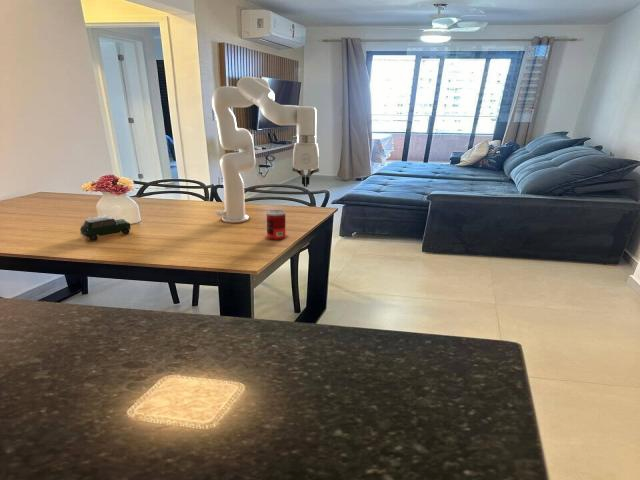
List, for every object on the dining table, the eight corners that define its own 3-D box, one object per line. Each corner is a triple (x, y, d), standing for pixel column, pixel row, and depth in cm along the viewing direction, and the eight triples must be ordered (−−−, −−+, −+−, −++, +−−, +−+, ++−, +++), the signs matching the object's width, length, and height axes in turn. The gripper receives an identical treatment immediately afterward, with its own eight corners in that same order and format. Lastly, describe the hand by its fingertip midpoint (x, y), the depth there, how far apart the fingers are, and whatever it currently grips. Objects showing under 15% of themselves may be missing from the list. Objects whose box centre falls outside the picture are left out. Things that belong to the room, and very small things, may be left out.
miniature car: (133, 233, 161) (131, 215, 158) (85, 242, 149) (82, 222, 146) (126, 228, 167) (123, 210, 164) (79, 237, 155) (75, 218, 152)
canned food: (288, 235, 163) (288, 210, 160) (280, 241, 156) (280, 215, 153) (272, 233, 166) (271, 208, 162) (263, 238, 159) (263, 213, 155)
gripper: (286, 140, 144) (286, 187, 150) (325, 140, 145) (324, 188, 151) (287, 138, 152) (287, 184, 157) (324, 139, 152) (323, 185, 158)
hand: (305, 186), depth 154 cm, fingers closed
